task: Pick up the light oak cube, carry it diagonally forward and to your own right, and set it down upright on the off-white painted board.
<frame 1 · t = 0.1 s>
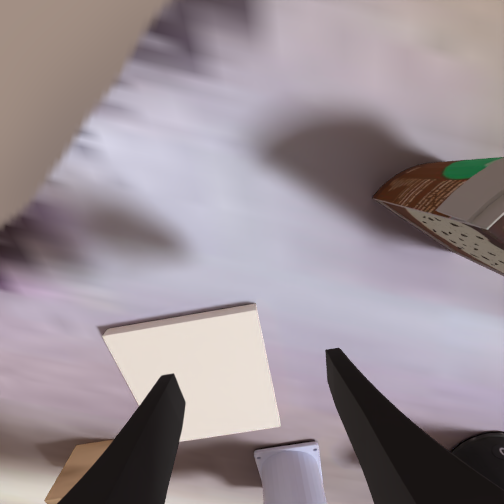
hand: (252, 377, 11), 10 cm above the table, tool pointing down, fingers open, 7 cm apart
oak cube: (105, 453, 29), on the table
painted board: (203, 377, 25), on the table
food container: (441, 193, 19), on the table
milk frother: (464, 468, 33), on the table
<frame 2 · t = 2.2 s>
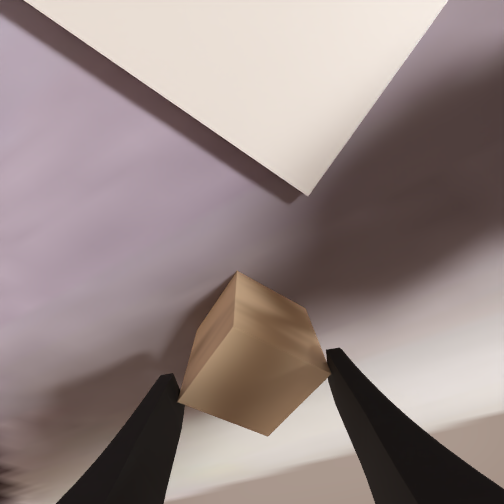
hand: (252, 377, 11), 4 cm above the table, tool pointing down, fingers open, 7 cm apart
oak cube: (250, 317, 15), on the table, touching gripper
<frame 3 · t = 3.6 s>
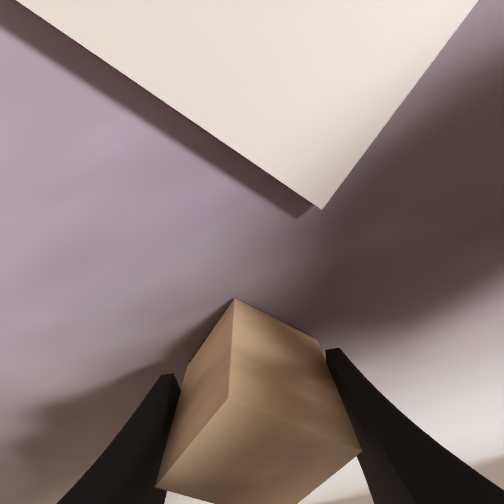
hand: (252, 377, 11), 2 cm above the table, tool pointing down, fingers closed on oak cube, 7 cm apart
oak cube: (251, 353, 13), on the table, touching gripper
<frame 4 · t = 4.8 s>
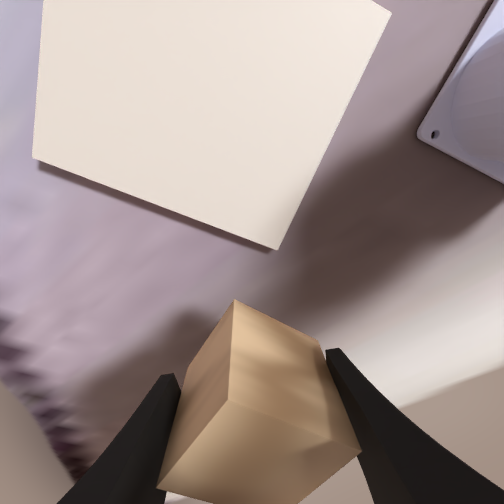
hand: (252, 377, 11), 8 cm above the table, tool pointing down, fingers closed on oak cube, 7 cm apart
oak cube: (251, 354, 13), point 7 cm above the table, touching gripper
painted board: (201, 94, 14), on the table
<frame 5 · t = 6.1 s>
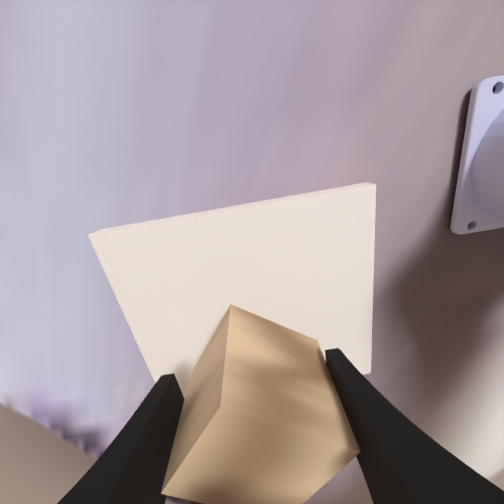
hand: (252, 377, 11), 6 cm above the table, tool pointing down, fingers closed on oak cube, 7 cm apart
oak cube: (252, 357, 13), point 4 cm above the table, touching gripper
painted board: (250, 305, 16), on the table
when the fingers open (4 cm above the table, at t = 7.1 s): oak cube drops 1 cm, resting on painted board.
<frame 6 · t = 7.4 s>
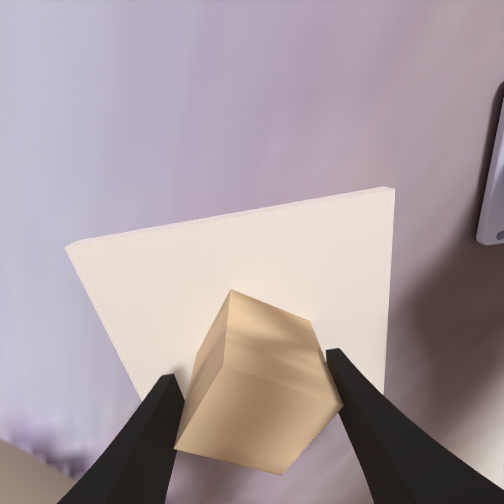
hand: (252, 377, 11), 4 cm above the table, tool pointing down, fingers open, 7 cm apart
oak cube: (251, 337, 14), point 1 cm above the table, touching gripper, painted board
painted board: (250, 323, 15), on the table
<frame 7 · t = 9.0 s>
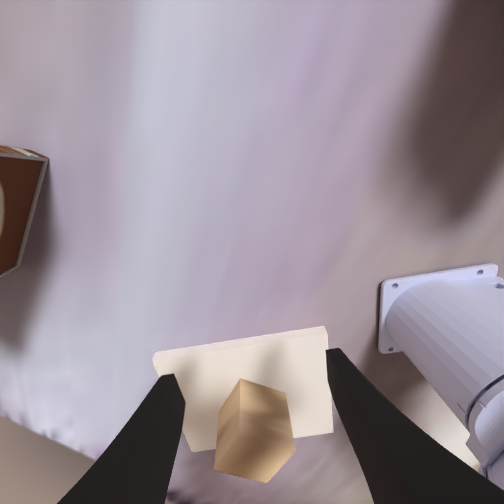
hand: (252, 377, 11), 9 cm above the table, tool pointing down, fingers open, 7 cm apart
oak cube: (252, 401, 24), point 1 cm above the table, touching painted board
painted board: (251, 390, 25), on the table
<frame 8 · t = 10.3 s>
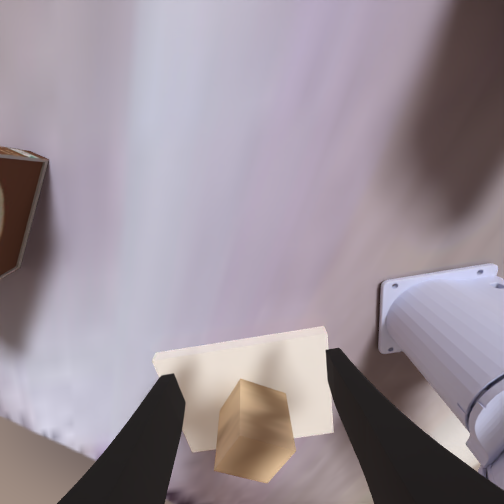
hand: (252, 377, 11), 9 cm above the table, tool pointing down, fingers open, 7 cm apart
oak cube: (252, 402, 24), point 1 cm above the table, touching painted board
painted board: (251, 391, 25), on the table
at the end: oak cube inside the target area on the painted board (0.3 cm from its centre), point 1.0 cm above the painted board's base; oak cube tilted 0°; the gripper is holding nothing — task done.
